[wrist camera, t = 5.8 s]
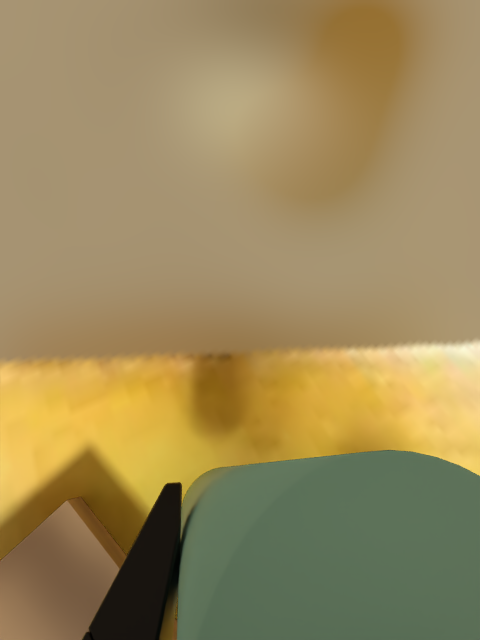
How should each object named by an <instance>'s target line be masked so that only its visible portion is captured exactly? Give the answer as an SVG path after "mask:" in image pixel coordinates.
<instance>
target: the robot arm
mask: <svg viewBox="0 0 480 640" xmlns="http://www.w3.org/2000/svg"><path fill="white" fill-rule="evenodd" d="M181 502H182V484H181V483H180V482H177V483H167V484H165V486H164V487H163V489H162V491H161V493H160V495H159V497H158V499H157V500H156V502H155V504H154V506H153V508H152V510H151V512H150V513H149V515H148V517H147V519H146V521H145V523H144V525H143V526H142V528H141V530H140V532H139V534H138V536H137V538H136V539H135V541H134V543H133V545H132V547H131V549H130V551H129V553H128V554H127V556H126V558H125V560H124V562H123V564H122V566H121V567H120V569H119V571H118V573H117V575H116V577H115V579H114V580H113V582H112V584H111V586H110V588H109V590H108V592H107V594H106V595H105V597H104V599H103V601H102V603H101V605H100V607H99V608H98V610H97V612H96V614H95V616H94V618H93V620H92V621H91V623H90V625H89V627H88V631H89V632H88V631H87V632H86V633H85V634H84V636H83V638H82V640H172V636H173V628H174V620H175V613H176V605H177V597H178V577H179V559H180V540H181Z"/></svg>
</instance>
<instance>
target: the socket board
mask: <svg viewBox="0 0 480 640" xmlns="http://www.w3.org/2000/svg"><path fill="white" fill-rule="evenodd" d="M125 558H126V554H125V553H124V552H123V551H122V549H121V548H120V547H119V545H118V544H117V543H116V542H115V540H114V539H113V538H112V536H111V535H110V534H109V533H108V531H107V530H106V529H105V527H104V526H103V525H102V524H101V522H100V521H99V520H98V518H97V517H96V516H95V515H94V513H93V512H92V511H91V509H90V508H89V507H88V506H87V504H86V503H85V502H84V500H83V499H82V498H81V497H77V498H73V499H69V500H66V501H65V502H64V503H63V504H62V505H61V506H60V507H59V508H58V509H57V510H55V511H54V512H53V513H52V514H51V515H50V516H49V517H48V518H47V519H46V520H45V521H43V522H42V523H41V524H40V525H39V526H38V527H37V528H36V529H35V530H34V531H32V532H31V533H30V534H29V535H28V536H27V537H26V538H25V539H24V540H23V541H21V542H20V543H19V544H18V545H17V546H16V547H15V548H14V549H13V550H12V551H11V552H9V553H8V554H7V555H6V556H5V557H4V558H3V559H2V560H1V561H0V640H82V638H83V636H84V634H85V633H86V632H87V631H88V627H89V625H90V623H91V621H92V620H93V618H94V616H95V614H96V612H97V610H98V608H99V607H100V605H101V603H102V601H103V599H104V597H105V595H106V594H107V592H108V590H109V588H110V586H111V584H112V582H113V580H114V579H115V577H116V575H117V573H118V571H119V569H120V567H121V566H122V564H123V562H124V560H125ZM88 632H89V631H88ZM172 640H177V620H176V619H175V620H174V628H173V636H172Z"/></svg>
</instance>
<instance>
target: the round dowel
mask: <svg viewBox="0 0 480 640" xmlns="http://www.w3.org/2000/svg"><path fill="white" fill-rule="evenodd" d="M177 640H480V476H479V475H477V474H475V473H473V472H471V471H469V470H467V469H465V468H463V467H461V466H459V465H456V464H454V463H451V462H448V461H445V460H443V459H440V458H437V457H434V456H429V455H425V454H420V453H416V452H408V451H395V450H383V451H371V452H361V453H351V454H342V455H333V456H323V457H314V458H305V459H296V460H286V461H277V462H268V463H259V464H249V465H240V466H231V467H222V468H216V469H212V470H210V471H208V472H206V473H204V474H202V475H201V476H200V477H199V478H197V479H196V480H195V481H194V483H193V484H192V485H191V486H190V488H189V489H188V491H187V493H186V495H185V497H184V500H183V503H182V507H181V540H180V559H179V577H178V615H177Z"/></svg>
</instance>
